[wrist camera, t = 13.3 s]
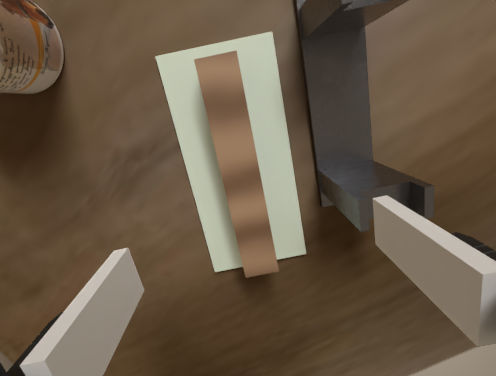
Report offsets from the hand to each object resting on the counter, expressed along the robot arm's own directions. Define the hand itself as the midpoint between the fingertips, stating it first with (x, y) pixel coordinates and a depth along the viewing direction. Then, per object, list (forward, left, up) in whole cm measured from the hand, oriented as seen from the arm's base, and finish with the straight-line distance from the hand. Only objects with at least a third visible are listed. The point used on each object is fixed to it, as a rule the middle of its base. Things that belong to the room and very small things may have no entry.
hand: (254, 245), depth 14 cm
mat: (0, 0, -21) cm, 21 cm away
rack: (-5, +13, -21) cm, 25 cm away
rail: (0, 0, -20) cm, 20 cm away
